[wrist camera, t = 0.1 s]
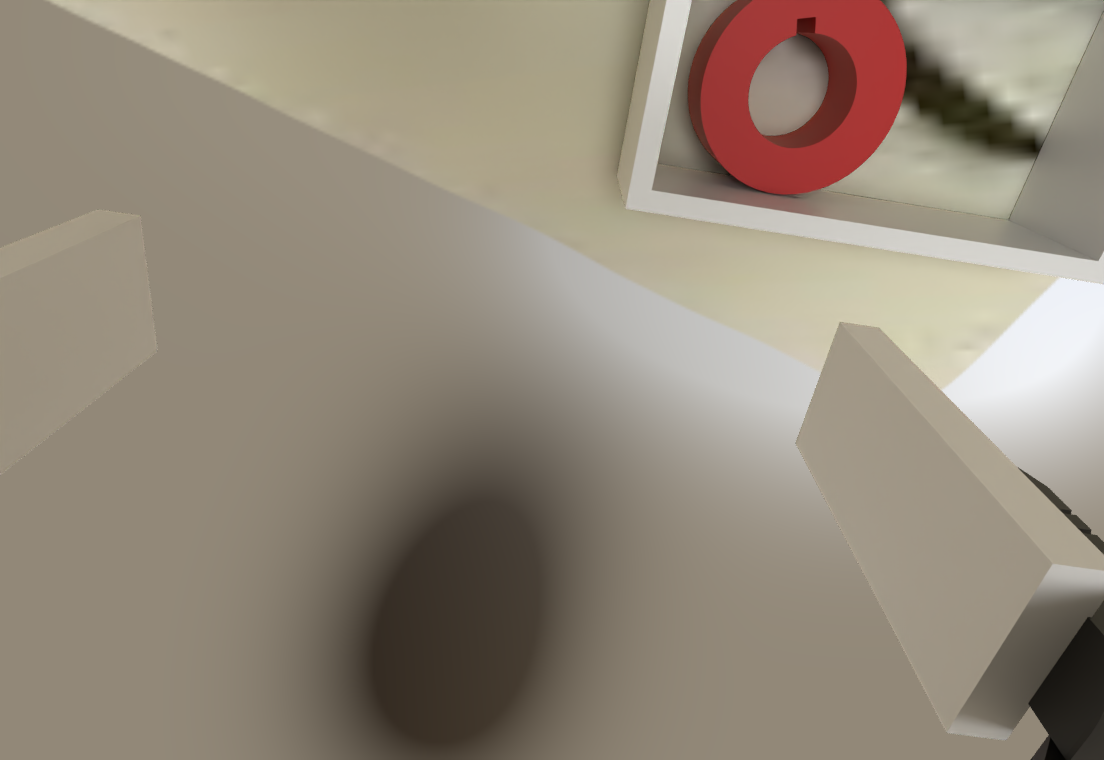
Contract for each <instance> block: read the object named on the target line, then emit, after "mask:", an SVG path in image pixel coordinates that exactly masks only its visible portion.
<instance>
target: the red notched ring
mask: <svg viewBox="0 0 1104 760" xmlns="http://www.w3.org/2000/svg"><path fill="white" fill-rule="evenodd" d="M796 33H798V34H801V35H804V36H806V37H808V38H809V39H811V40H812V41H813V42H815V43H816V44H817V45H818V47H819V48H820V49H821V51H822V52H823V54H824V56H825V59H826V62H827V66H828V73H829V81H828V88H827V92H826V95H825V98H824V100H823V103H822V104H821V106H820V108H819V109H818V111H817V112H816V114H815V115H814V116H813V117H812V118H811V119H810V120H809V121H808V122H807V123H806V124H805V125H803V126H802V127H800V128H799V129H797V130H795V131H793V132H791V133H788V134H785V135H780V136H765V135H761V134H760V133H759V131H758V130H757V129H756V127H755V125H754V123H753V121H752V119H751V116H750V112H749V106H748V93H749V87H750V83H751V80H752V77H753V74H754V72H755V70H756V68H757V67H758V65H759V63H760V62H761V60H762V59H763V58H764V57H765V55H766V54H767V53H768V52H769V51H770V50H771V49H772V48H774V47H775V46H776V45H778V44H779V43H781V42H782V41H784V40H786V39H788V38H790V37H793V36H796ZM906 67H907V63H906V52H905V47H904V43H903V39H902V36H901V33H900V30H899V28H898V26H897V24H896V21H895V19H894V18H893V16H892V15H891V13H890V12H889V10H888V9H887V8H886V7H885V5H884V4H883V3H882V2H881V1H880V0H737V1H735V2H734V3H733V4H731V5H730V6H729V7H728V8H727V9H726V10H725V11H724V12H723V13H722V14H721V15H720V16H719V17H718V18H717V19H716V20H715V21H714V23H713V24H712V25H711V27H710V28H709V29H708V31H707V32H706V34H705V36H704V37H703V39H702V41H701V43H700V45H699V47H698V49H697V52H696V54H695V57H694V59H693V63H692V66H691V70H690V75H689V82H688V106H689V113H690V117H691V121H692V124H693V127H694V130H695V132H696V134H697V136H698V138H699V140H700V141H701V143H702V145H703V146H704V147H705V149H706V150H707V151H708V152H709V154H710V155H711V156H712V157H713V158H714V159H715V160H717V161H718V162H719V163H720V164H721V165H722V166H723V167H724V168H725V169H726V170H727V171H728V172H729V173H730V174H731V175H733V176H734V177H735V178H737V179H738V180H739V181H741V182H743V183H744V184H746V185H748V186H750V187H752V188H755V189H757V190H761V191H764V192H768V193H774V194H785V195H787V194H800V193H807V192H811V191H815V190H818V189H821V188H824V187H827V186H829V185H831V184H833V183H835V182H837V181H839V180H841V179H842V178H844V177H846V176H847V175H849V174H850V173H852V172H853V171H854V170H856V169H857V168H858V167H859V166H860V165H862V164H863V163H864V162H865V161H866V160H867V159H868V158H869V157H870V156H871V155H872V154H873V153H874V151H875V150H876V149H877V148H878V146H879V145H880V144H881V143H882V141H883V140H884V138H885V137H886V135H887V134H888V132H889V130H890V128H891V126H892V125H893V123H894V121H895V118H896V116H897V114H898V111H899V108H900V105H901V102H902V99H903V94H904V90H905V83H906Z"/></svg>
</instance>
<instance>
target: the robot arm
mask: <svg viewBox="0 0 1104 760" xmlns="http://www.w3.org/2000/svg"><path fill="white" fill-rule="evenodd" d="M146 263H147V262H146V254H145V247H144V239H143V231H142V223H141V216H139V215H133V214H126V213H119V212H112V211H105V210H99V209H97V210H95V211H93V212H90V213H87V214H85V215H82V216H80V217H77V218H75V219H72V220H70V221H67V222H65V223H62V224H59V225H57V226H54V227H52V228H49V229H46V230H44V231H41V232H39V233H36V234H34V235H31V236H29V237H26V238H23V239H21V240H19V241H16V242H13V243H11V244H8V245H6V246H3V247H1V248H0V475H1V474H2V473H4V472H5V471H6V470H7V469H9V468H10V467H11V466H12V465H14V464H15V463H16V462H18V461H19V460H20V459H21V458H23V457H24V456H25V455H26V454H28V453H29V452H30V451H31V450H33V449H34V448H35V447H36V446H38V445H39V444H40V443H42V442H43V441H44V440H45V439H47V438H48V437H49V436H51V435H52V434H53V433H54V432H56V431H57V430H58V429H59V428H61V427H62V426H63V425H65V424H66V423H67V422H68V421H69V420H71V419H72V418H73V417H75V416H76V415H77V414H79V413H80V412H81V411H82V410H84V409H85V408H86V407H87V406H89V405H90V404H91V403H92V402H94V401H95V400H96V399H98V398H99V397H100V396H101V395H103V394H104V393H105V392H106V391H108V390H109V389H110V388H112V387H113V386H114V385H115V384H116V383H118V382H119V381H120V380H122V379H123V378H124V377H125V376H127V375H128V374H129V373H131V372H132V371H133V370H134V369H136V368H137V367H138V366H139V365H141V364H142V363H143V362H145V361H146V360H147V359H148V358H150V357H151V356H152V355H153V354H155V353H156V352H157V342H156V334H155V326H154V318H153V310H152V303H151V295H150V287H149V279H148V270H147V264H146ZM796 445H797V447H798V449H799V451H800V453H801V455H802V457H803V459H804V461H805V462H806V464H807V466H808V468H809V470H810V472H811V474H812V476H813V478H814V479H815V482H816V484H817V485H818V487H819V489H820V491H821V493H822V495H823V497H824V499H825V501H826V503H827V505H828V506H829V509H830V510H831V512H832V514H833V516H834V518H835V520H836V522H837V524H838V526H839V528H840V530H841V531H842V533H843V535H844V537H845V539H846V541H847V543H848V545H849V547H850V549H851V551H852V553H853V555H854V556H855V558H856V560H857V562H858V564H859V566H860V568H861V570H862V571H863V574H864V576H865V578H866V579H867V581H868V583H869V585H870V587H871V589H872V591H873V593H874V595H875V597H876V599H877V601H878V602H879V604H880V606H881V608H882V610H883V612H884V614H885V616H886V618H887V620H888V622H889V623H890V626H891V627H892V629H893V631H894V633H895V635H896V637H897V639H898V641H899V643H900V644H901V647H902V649H903V650H904V652H905V654H906V656H907V658H908V660H909V662H910V664H911V666H912V668H913V670H914V671H915V673H916V675H917V677H918V679H919V681H920V683H921V685H922V687H923V689H924V691H925V693H926V695H927V696H928V698H929V700H930V702H931V704H932V706H933V708H934V710H935V712H936V714H937V716H938V718H939V719H940V721H941V723H942V725H943V727H944V729H945V731H946V733H952V734H960V735H968V736H976V737H983V738H991V739H999V740H1007V738H1008V737H1009V735H1010V734H1011V733H1012V731H1013V730H1014V728H1015V727H1016V726H1017V724H1018V723H1019V721H1020V720H1021V718H1022V717H1023V715H1024V714H1025V713H1026V711H1027V710H1028V708H1029V707H1031V708H1032V710H1033V711H1034V713H1035V714H1036V716H1037V717H1038V719H1039V720H1040V722H1041V723H1042V725H1043V726H1044V728H1045V729H1046V731H1047V732H1048V734H1049V736H1048V737H1047V738H1046V740H1045V741H1044V743H1043V744H1042V745H1041V746H1040V748H1039V749H1038V750H1037V752H1036V753H1035V755H1034V756H1033V757H1032V759H1031V760H1104V542H1103V541H1102V540H1101V539H1100V538H1099V537H1098V536H1097V535H1092V534H1091V529H1090V528H1089V527H1088V526H1087V525H1086V524H1085V523H1084V522H1083V521H1082V520H1080V518H1079V517H1078V516H1077V515H1071V509H1069V508H1068V507H1067V506H1066V505H1065V504H1064V503H1063V502H1062V501H1061V500H1060V499H1059V498H1058V497H1057V496H1056V495H1055V494H1054V493H1053V492H1052V491H1051V490H1050V489H1049V488H1048V487H1047V486H1045V485H1044V484H1042V483H1041V482H1039V481H1038V480H1036V479H1035V478H1033V477H1032V476H1030V475H1029V474H1027V473H1026V472H1024V471H1022V470H1021V469H1019V468H1018V467H1016V466H1015V465H1014V464H1013V463H1012V462H1011V461H1010V460H1009V459H1008V458H1007V457H1006V456H1005V455H1004V454H1003V453H1002V452H1001V451H1000V450H999V448H998V447H997V446H996V445H995V444H994V443H992V441H991V440H990V439H988V437H987V436H986V435H985V434H984V433H983V432H982V431H981V430H980V429H978V427H977V426H976V425H975V424H974V423H973V422H972V421H971V420H970V419H969V418H968V417H967V416H966V415H965V414H964V413H963V412H962V411H961V410H960V409H959V408H958V407H957V406H956V405H955V404H954V403H953V402H952V401H951V400H950V399H949V398H948V397H947V396H946V395H945V394H944V393H943V392H942V391H941V390H940V389H939V388H938V387H937V386H936V385H935V384H934V383H933V382H932V381H931V380H930V379H929V378H928V377H927V376H926V375H925V374H924V373H923V372H922V371H921V370H920V369H919V368H918V367H917V366H916V365H915V364H914V363H913V362H912V361H911V360H910V359H909V358H908V357H907V356H906V355H905V354H904V353H903V352H902V351H901V350H900V349H899V348H898V347H897V346H896V345H895V344H894V342H893V341H892V340H891V339H890V338H889V337H888V336H887V335H886V334H885V333H884V332H883V331H882V330H881V329H880V328H877V327H870V326H864V325H857V324H851V323H844V322H840V323H839V326H838V328H837V331H836V334H835V337H834V339H833V342H832V345H831V347H830V350H829V353H828V356H827V358H826V361H825V364H824V367H823V369H822V372H821V375H820V377H819V380H818V383H817V386H816V388H815V391H814V394H813V397H812V399H811V402H810V405H809V407H808V410H807V413H806V416H805V418H804V421H803V424H802V427H801V429H800V432H799V435H798V437H797V440H796Z"/></svg>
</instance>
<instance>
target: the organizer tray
mask: <svg viewBox="0 0 1104 760" xmlns="http://www.w3.org/2000/svg"><path fill="white" fill-rule="evenodd" d="M691 3H692V0H650V2H649V7H648V13H647V18H646V23H645V28H644V34H643V39H642V44H641V50H640V55H639V60H638V66H637V71H636V76H635V82H634V87H633V92H632V98H631V103H630V108H629V114H628V119H627V124H626V130H625V135H624V140H623V145H622V151H621V156H620V161H619V167H618V172H617V179H618V183H619V187H620V191H621V194H622V198H623V202H624V206H625V209H629V210H636V211H642V212H648V213H655V214H661V215H667V216H674V217H680V218H687V219H693V220H699V221H706V222H712V223H718V224H725V225H731V226H737V227H744V228H750V229H756V230H763V231H769V232H775V233H782V234H788V235H794V236H801V237H807V238H813V239H820V240H826V241H833V242H839V243H845V244H852V245H858V246H864V247H871V248H877V249H883V250H890V251H896V252H902V253H909V254H915V255H921V256H928V257H934V258H940V259H947V260H953V261H960V262H966V263H972V264H979V265H985V266H991V267H998V268H1004V269H1010V270H1017V271H1023V272H1029V273H1036V274H1042V275H1048V276H1055V277H1061V278H1068V279H1074V280H1080V281H1086V282H1093V283H1099V284H1104V12H1103V14H1102V16H1101V19H1100V21H1099V23H1098V25H1097V27H1096V30H1095V32H1094V34H1093V36H1092V38H1091V40H1090V43H1089V45H1088V47H1087V49H1086V51H1085V54H1084V56H1083V58H1082V60H1081V62H1080V65H1079V67H1078V69H1077V71H1076V73H1075V76H1074V78H1073V80H1072V82H1071V84H1070V87H1069V89H1068V91H1067V93H1066V95H1065V98H1064V100H1063V102H1062V104H1061V106H1060V108H1059V111H1058V113H1057V115H1056V117H1055V119H1054V122H1053V124H1052V126H1051V128H1050V130H1049V133H1048V135H1047V137H1046V139H1045V141H1044V144H1043V146H1042V148H1041V150H1040V152H1039V155H1038V157H1037V159H1036V161H1035V163H1034V166H1033V168H1032V170H1031V172H1030V174H1029V177H1028V179H1027V181H1026V183H1025V185H1024V187H1023V190H1022V192H1021V194H1020V196H1019V198H1018V201H1017V203H1016V205H1015V207H1014V209H1013V212H1012V214H1011V216H1010V218H1009V220H1005V219H998V218H992V217H986V216H980V215H974V214H967V213H961V212H955V211H949V210H942V209H936V208H930V207H924V206H917V205H911V204H905V203H899V202H893V201H886V200H880V199H874V198H868V197H861V196H855V195H849V194H843V193H836V192H830V191H824V190H815V191H811V192H807V193H800V194H787V195H785V194H774V193H768V192H764V191H761V190H757V189H755V188H752V187H750V186H748V185H746V184H744V183H743V182H741V181H739V180H738V179H737V178H735V177H734V176H731V175H724V174H718V173H712V172H706V171H699V170H693V169H687V168H681V167H675V166H668V165H662V164H657V162H658V158H659V153H660V148H661V144H662V139H663V134H664V130H665V125H666V120H667V115H668V111H669V106H670V101H671V97H672V92H673V87H674V82H675V78H676V73H677V68H678V64H679V59H680V54H681V50H682V45H683V40H684V35H685V31H686V26H687V21H688V17H689V12H690V7H691Z"/></svg>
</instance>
